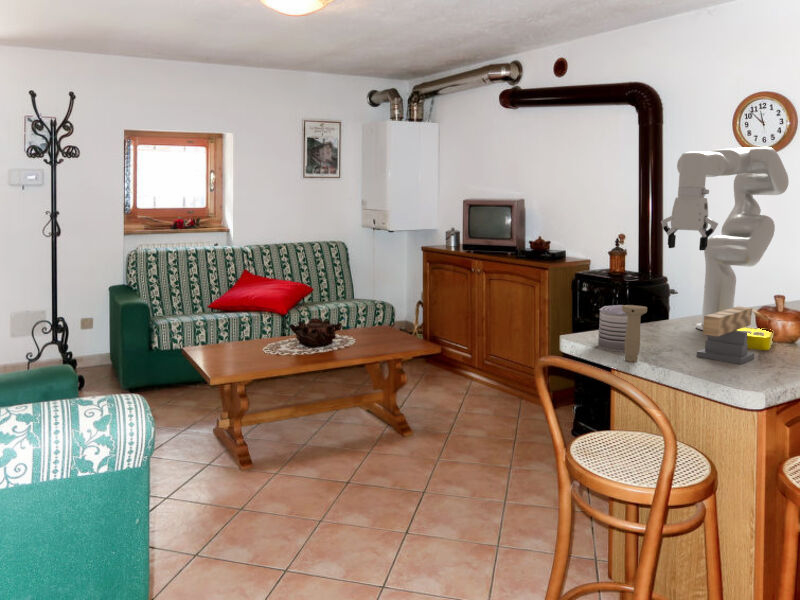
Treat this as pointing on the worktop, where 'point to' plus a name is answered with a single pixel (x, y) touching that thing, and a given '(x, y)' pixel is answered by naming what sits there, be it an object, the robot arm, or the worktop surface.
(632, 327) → the handle
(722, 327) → the oak batten
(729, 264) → the robot arm
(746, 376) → the worktop surface
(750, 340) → the element tile
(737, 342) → the fulcrum stand
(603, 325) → the can
